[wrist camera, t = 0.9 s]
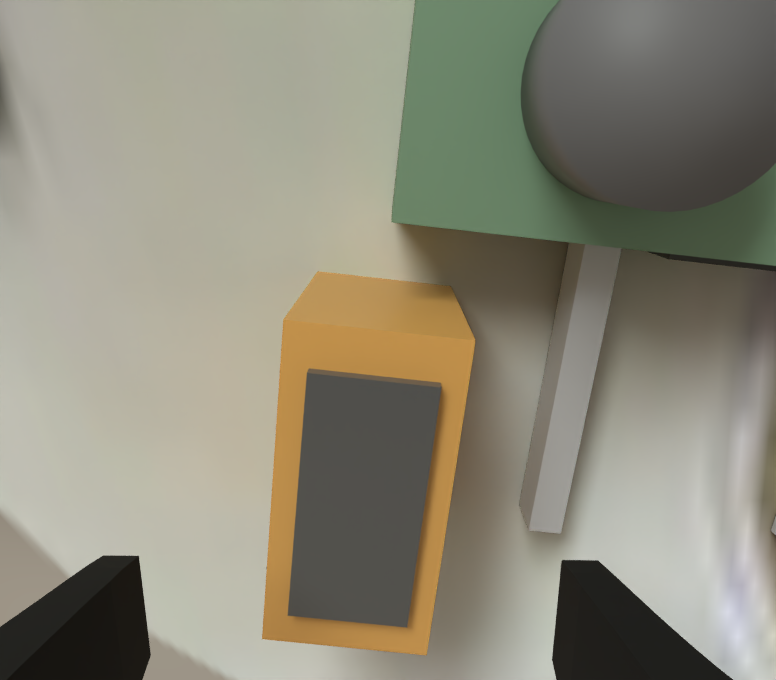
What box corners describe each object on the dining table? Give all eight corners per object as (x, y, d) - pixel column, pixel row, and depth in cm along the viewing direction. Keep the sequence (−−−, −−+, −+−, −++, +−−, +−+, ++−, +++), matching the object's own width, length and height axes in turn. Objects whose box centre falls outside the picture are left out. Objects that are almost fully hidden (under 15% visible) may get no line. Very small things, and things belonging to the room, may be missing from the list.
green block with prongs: (977, 5, 16) (1295, -81, 11) (800, 533, 21) (957, 676, 15) (422, -63, 16) (438, -191, 10) (361, 488, 20) (348, 616, 15)
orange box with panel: (450, 285, 19) (477, 344, 13) (417, 519, 21) (427, 664, 15) (317, 271, 19) (280, 322, 12) (298, 506, 21) (259, 648, 15)
